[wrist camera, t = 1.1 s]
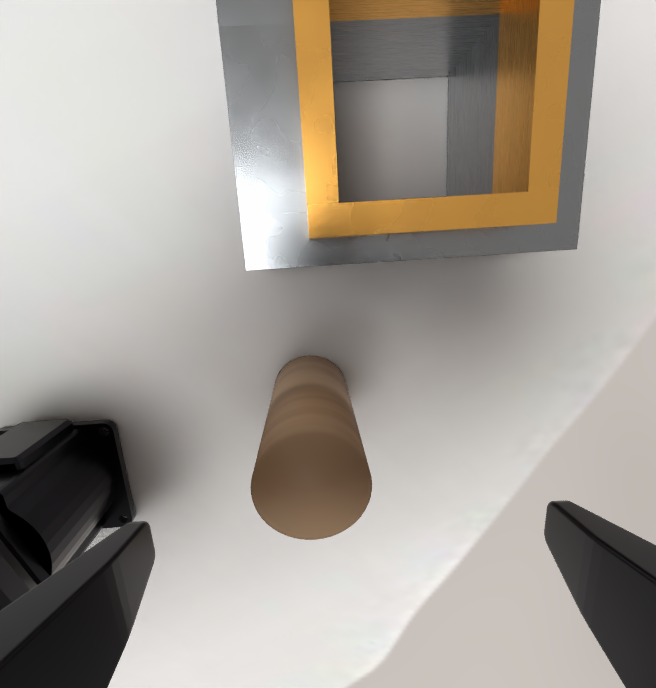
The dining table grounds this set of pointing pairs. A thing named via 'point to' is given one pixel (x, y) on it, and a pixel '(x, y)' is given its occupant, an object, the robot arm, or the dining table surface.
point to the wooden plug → (311, 454)
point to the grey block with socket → (463, 124)
